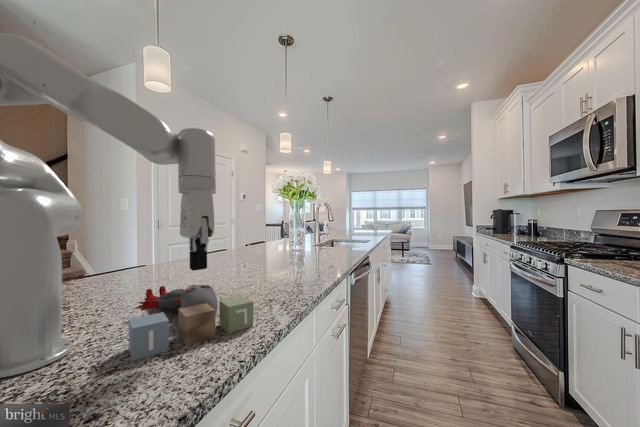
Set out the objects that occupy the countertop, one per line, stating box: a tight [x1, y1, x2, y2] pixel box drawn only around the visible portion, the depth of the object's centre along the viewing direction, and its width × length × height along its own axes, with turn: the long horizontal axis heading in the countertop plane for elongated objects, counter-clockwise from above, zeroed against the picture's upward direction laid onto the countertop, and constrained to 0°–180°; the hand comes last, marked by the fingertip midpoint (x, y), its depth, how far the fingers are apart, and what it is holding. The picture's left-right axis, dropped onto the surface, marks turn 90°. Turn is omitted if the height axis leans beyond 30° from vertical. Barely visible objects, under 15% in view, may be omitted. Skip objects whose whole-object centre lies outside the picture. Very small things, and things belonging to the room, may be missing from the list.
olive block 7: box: [219, 295, 254, 334], centre depth 64 cm, size 6×6×6 cm
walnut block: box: [178, 303, 216, 346], centre depth 59 cm, size 6×6×6 cm
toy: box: [137, 284, 219, 316], centre depth 73 cm, size 16×10×30 cm
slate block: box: [128, 311, 170, 361], centre depth 53 cm, size 6×6×6 cm
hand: (198, 268), depth 59 cm, fingers closed
